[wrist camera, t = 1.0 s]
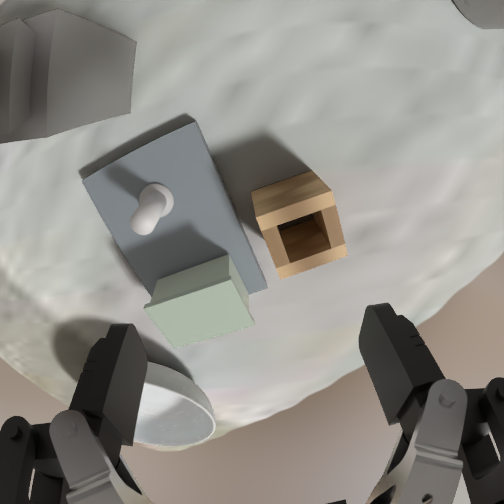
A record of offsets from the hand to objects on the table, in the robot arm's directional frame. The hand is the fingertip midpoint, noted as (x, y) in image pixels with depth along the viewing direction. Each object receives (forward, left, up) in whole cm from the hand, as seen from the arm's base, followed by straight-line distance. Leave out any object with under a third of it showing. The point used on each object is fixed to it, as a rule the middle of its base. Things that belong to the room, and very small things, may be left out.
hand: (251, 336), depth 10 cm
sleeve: (-4, +5, -19) cm, 20 cm away
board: (+7, +3, -19) cm, 21 cm away
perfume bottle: (+8, -14, -19) cm, 25 cm away
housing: (+7, +9, -18) cm, 21 cm away
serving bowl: (+24, +24, -20) cm, 39 cm away
